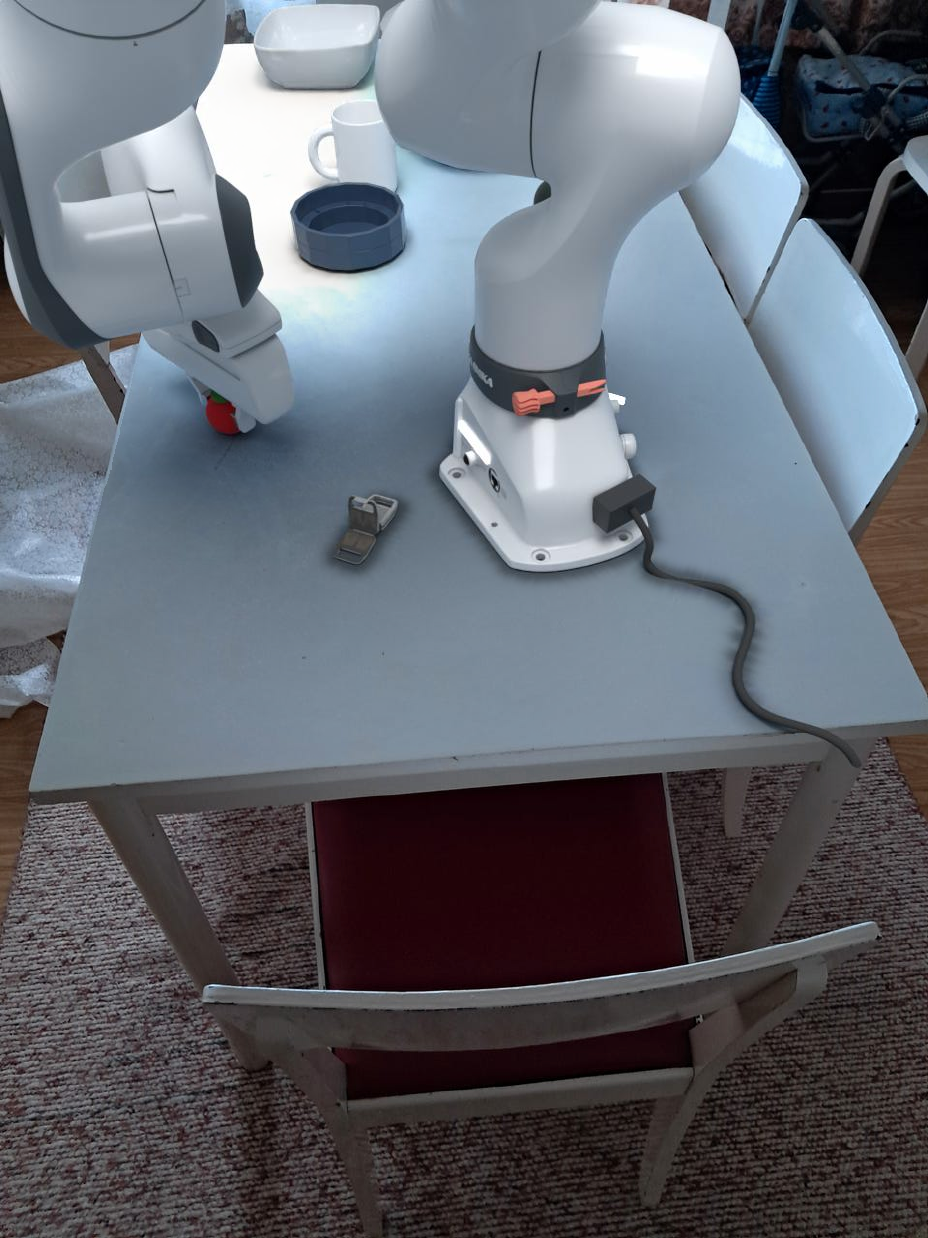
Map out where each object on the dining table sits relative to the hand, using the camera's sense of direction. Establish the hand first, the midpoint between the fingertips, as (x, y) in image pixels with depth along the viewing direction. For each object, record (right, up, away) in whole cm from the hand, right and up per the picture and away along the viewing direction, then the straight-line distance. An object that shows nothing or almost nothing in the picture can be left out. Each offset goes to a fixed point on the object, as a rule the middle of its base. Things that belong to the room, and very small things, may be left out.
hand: (229, 415), depth 89 cm
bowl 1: (0, +74, +62) cm, 96 cm away
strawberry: (0, -1, +1) cm, 2 cm away
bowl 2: (+9, +28, +25) cm, 39 cm away
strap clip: (+15, -13, -8) cm, 22 cm away
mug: (+9, +40, +34) cm, 54 cm away
